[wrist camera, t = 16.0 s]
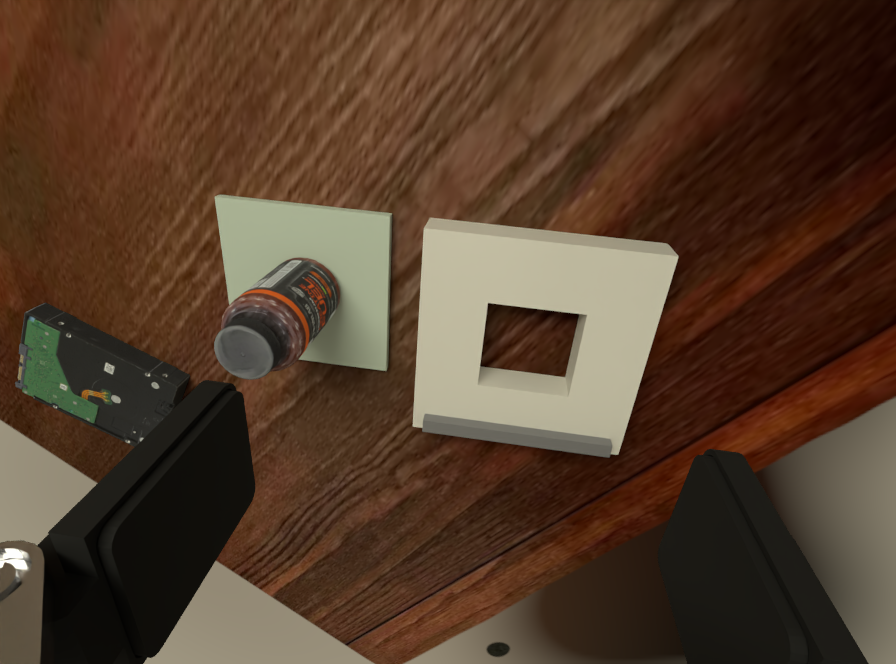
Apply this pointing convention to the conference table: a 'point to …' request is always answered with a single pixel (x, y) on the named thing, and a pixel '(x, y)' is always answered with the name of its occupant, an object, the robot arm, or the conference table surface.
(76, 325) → the disk drive
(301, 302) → the supplement bottle
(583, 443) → the dispenser block
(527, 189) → the conference table surface
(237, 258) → the sage mat
